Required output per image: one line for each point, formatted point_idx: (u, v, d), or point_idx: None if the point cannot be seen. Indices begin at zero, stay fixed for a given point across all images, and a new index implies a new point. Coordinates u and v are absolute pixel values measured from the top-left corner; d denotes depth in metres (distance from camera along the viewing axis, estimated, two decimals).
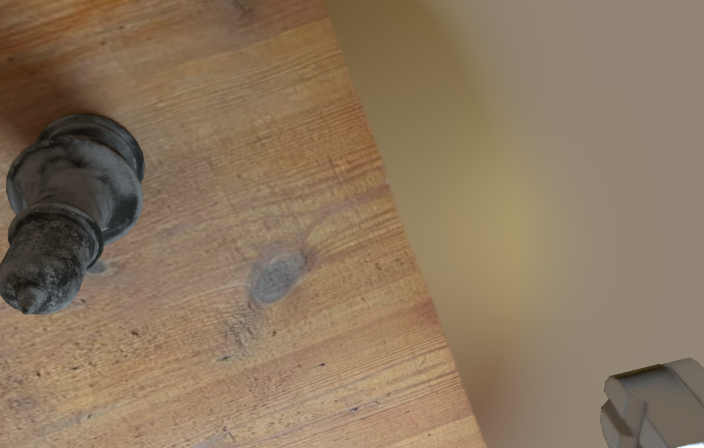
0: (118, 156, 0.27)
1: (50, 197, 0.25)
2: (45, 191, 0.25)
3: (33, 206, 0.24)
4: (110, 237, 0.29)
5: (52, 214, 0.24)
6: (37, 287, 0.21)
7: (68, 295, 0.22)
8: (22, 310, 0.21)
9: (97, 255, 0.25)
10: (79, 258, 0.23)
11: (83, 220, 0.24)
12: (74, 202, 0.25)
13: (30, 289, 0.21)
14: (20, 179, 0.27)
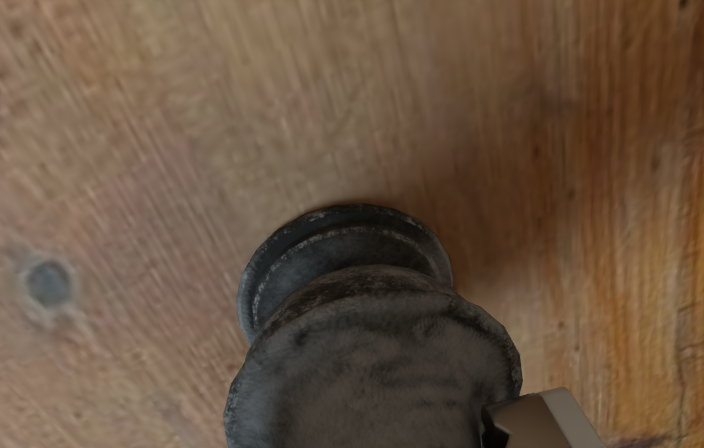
0: None
1: None
2: None
3: None
4: None
5: None
6: None
7: None
8: None
9: None
10: None
11: None
12: None
13: None
14: (449, 335, 0.11)
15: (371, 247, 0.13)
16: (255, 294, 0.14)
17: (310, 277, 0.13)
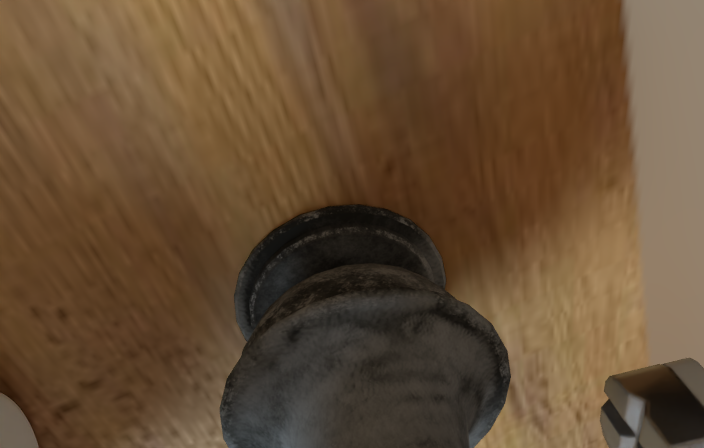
0: None
1: None
2: None
3: None
4: None
5: None
6: None
7: None
8: None
9: None
10: None
11: None
12: None
13: None
14: (437, 332, 0.11)
15: (365, 246, 0.14)
16: (252, 293, 0.14)
17: (305, 276, 0.14)
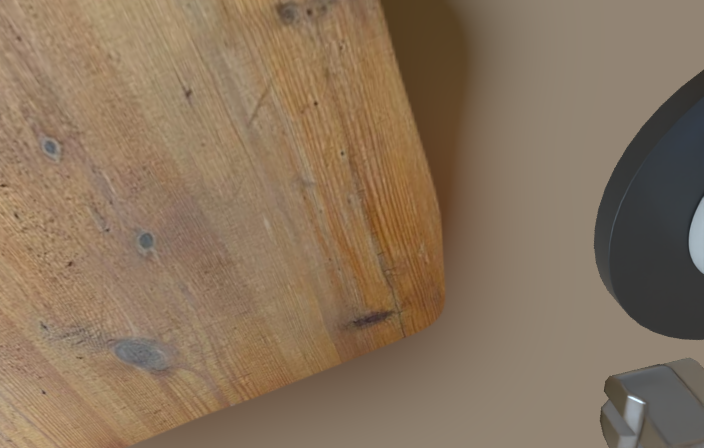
0: None
1: None
2: None
3: None
4: None
5: None
6: None
7: None
8: None
9: None
10: None
11: None
12: None
13: None
14: None
15: None
16: None
17: None
